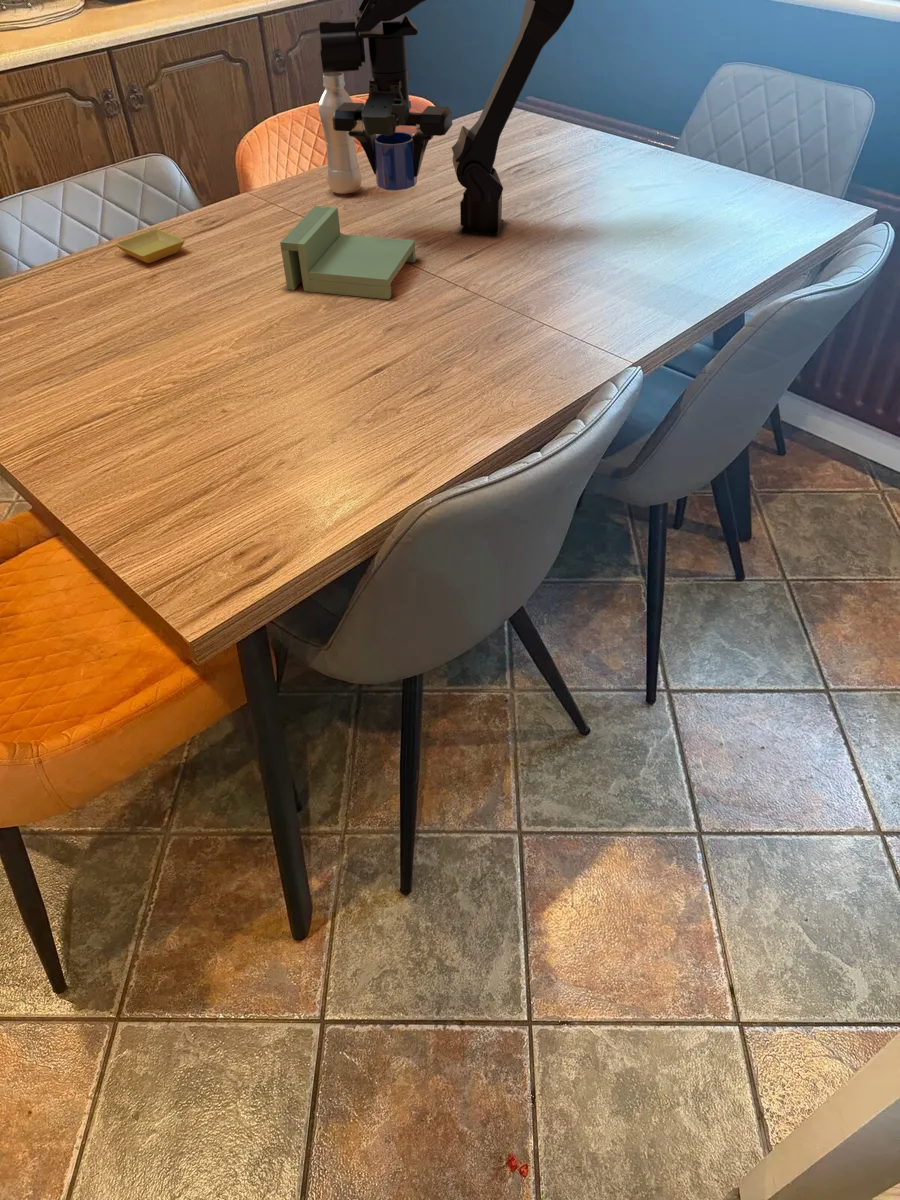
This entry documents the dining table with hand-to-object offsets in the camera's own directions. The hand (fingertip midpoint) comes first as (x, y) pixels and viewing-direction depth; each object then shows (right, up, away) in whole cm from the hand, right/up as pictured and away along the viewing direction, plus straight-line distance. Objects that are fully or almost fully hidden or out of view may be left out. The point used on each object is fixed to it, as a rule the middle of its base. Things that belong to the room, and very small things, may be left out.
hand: (396, 175), depth 145 cm
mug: (0, -2, 0) cm, 2 cm away
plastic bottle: (-11, +7, +22) cm, 25 cm away
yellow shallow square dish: (-42, -12, +3) cm, 44 cm away
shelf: (-7, -18, -5) cm, 20 cm away
